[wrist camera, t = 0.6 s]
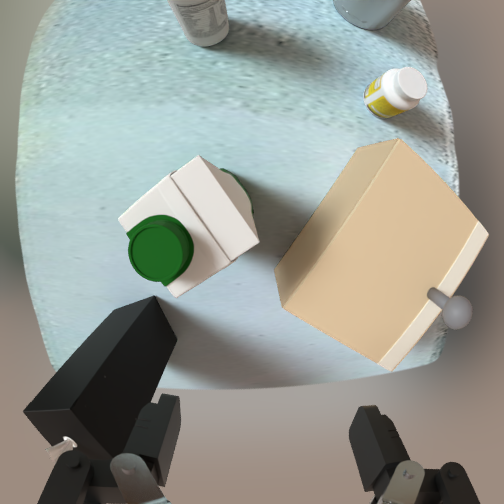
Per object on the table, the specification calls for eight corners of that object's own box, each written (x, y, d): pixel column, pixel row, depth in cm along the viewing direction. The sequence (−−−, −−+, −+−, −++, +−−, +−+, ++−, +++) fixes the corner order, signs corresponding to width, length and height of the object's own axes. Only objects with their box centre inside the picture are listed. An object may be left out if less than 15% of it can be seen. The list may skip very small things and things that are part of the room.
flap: (398, 139, 24) (439, 131, 17) (485, 233, 26) (527, 248, 19) (283, 306, 28) (291, 346, 21) (390, 368, 30) (414, 407, 23)
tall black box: (155, 294, 41) (52, 435, 14) (178, 339, 43) (115, 495, 16) (114, 309, 42) (6, 431, 15) (137, 350, 44) (59, 487, 17)
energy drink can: (224, 11, 31) (212, -52, 17) (234, 43, 33) (224, -18, 18) (183, 22, 32) (154, -37, 17) (190, 54, 33) (160, -1, 18)
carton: (357, 147, 36) (398, 138, 24) (435, 217, 38) (485, 232, 27) (273, 269, 40) (281, 307, 29) (359, 324, 42) (388, 369, 31)
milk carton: (169, 198, 38) (94, 221, 19) (225, 157, 37) (196, 137, 17) (208, 252, 40) (168, 321, 20) (264, 213, 38) (276, 251, 19)
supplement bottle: (400, 117, 35) (437, 104, 25) (368, 121, 35) (400, 106, 26) (390, 82, 34) (424, 61, 24) (357, 84, 34) (385, 61, 24)
